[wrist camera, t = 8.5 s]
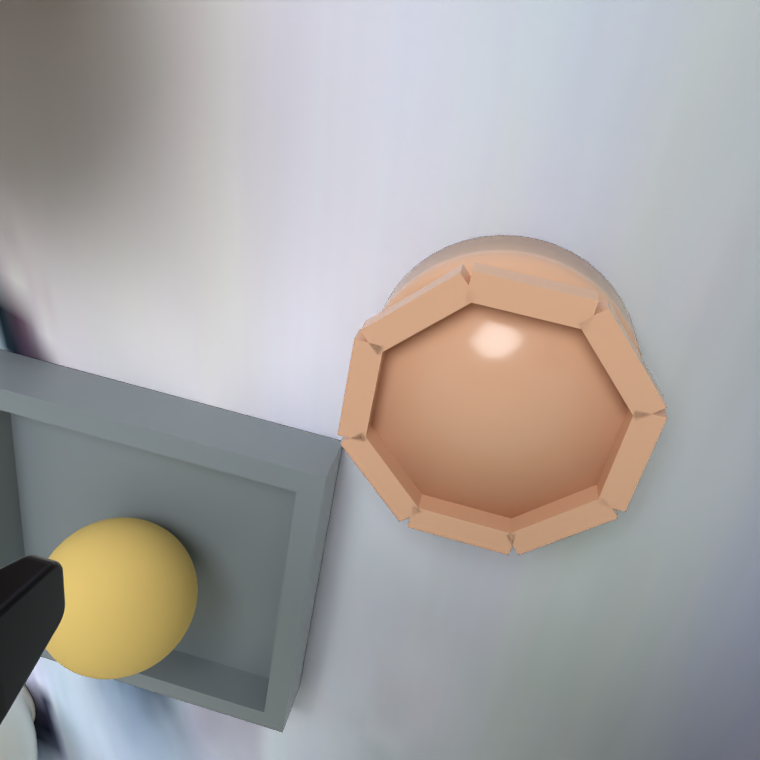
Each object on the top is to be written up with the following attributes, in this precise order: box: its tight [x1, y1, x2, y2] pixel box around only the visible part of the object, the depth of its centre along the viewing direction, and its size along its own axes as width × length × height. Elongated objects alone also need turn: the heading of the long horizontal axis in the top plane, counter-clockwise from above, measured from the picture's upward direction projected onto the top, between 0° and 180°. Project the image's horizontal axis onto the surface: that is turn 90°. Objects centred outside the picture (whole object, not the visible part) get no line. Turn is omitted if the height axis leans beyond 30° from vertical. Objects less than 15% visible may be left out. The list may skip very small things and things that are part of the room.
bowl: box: [338, 235, 667, 555], centre depth 18 cm, size 7×7×4 cm
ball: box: [45, 517, 198, 679], centre depth 23 cm, size 5×5×5 cm
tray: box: [0, 350, 342, 732], centre depth 24 cm, size 12×12×2 cm
